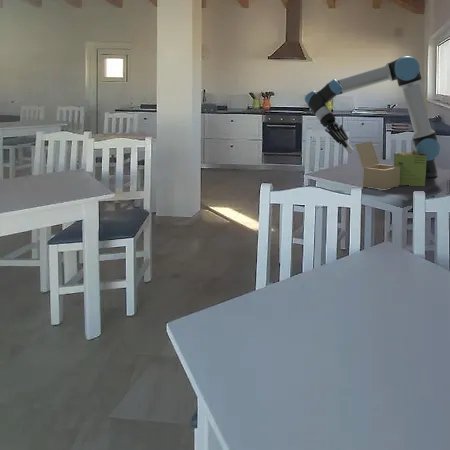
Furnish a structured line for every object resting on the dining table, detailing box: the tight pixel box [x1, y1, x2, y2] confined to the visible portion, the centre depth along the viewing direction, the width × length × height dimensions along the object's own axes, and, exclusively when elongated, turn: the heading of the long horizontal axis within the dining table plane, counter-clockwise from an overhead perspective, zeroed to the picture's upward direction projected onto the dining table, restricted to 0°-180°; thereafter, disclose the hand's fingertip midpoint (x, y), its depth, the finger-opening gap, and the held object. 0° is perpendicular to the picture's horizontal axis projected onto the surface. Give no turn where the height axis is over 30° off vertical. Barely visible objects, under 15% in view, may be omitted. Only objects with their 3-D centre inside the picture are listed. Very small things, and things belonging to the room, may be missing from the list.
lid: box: [354, 141, 380, 168], centre depth 323 cm, size 14×12×1 cm
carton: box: [362, 163, 400, 190], centre depth 320 cm, size 14×12×10 cm
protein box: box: [393, 151, 427, 187], centre depth 326 cm, size 10×15×16 cm
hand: (351, 151), depth 329 cm, fingers closed
